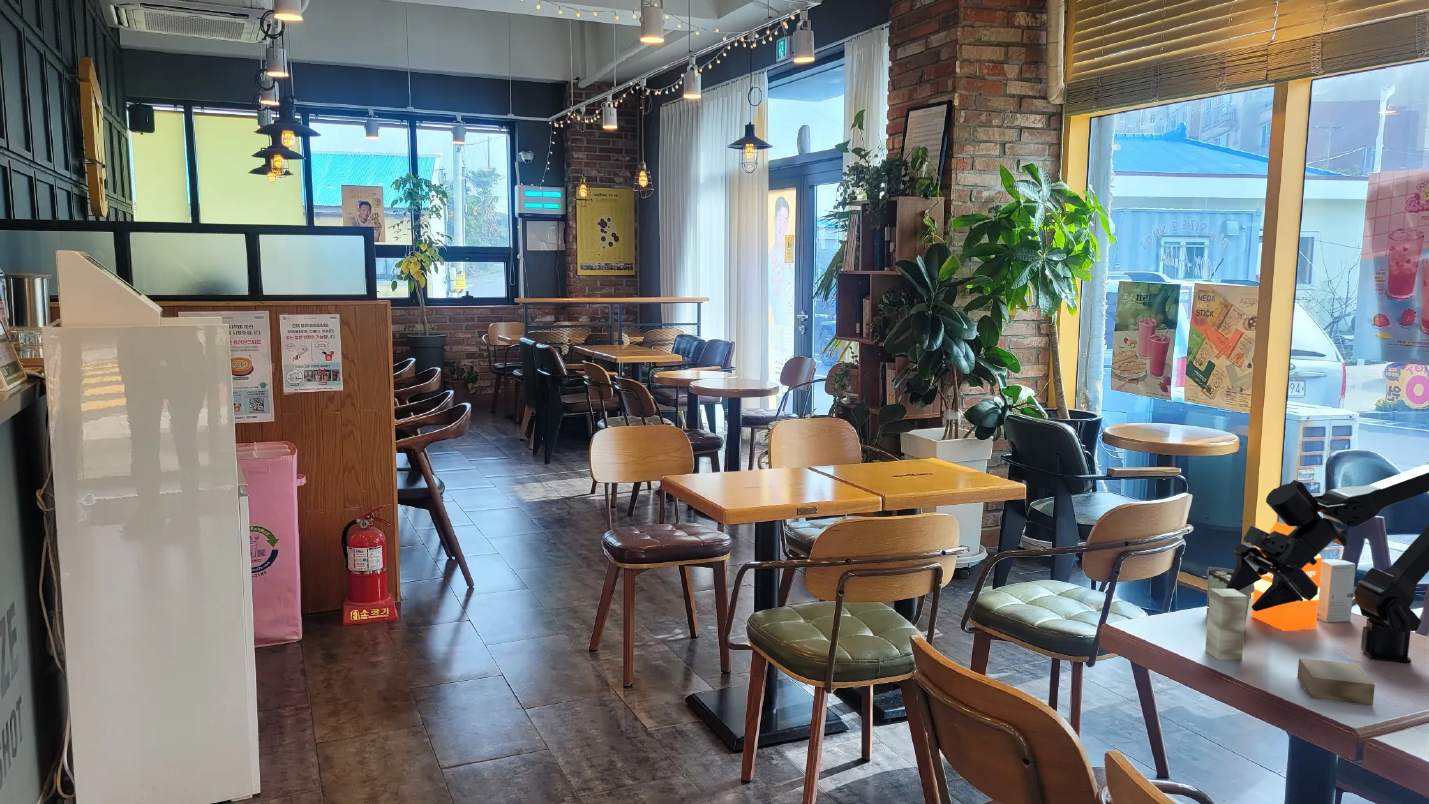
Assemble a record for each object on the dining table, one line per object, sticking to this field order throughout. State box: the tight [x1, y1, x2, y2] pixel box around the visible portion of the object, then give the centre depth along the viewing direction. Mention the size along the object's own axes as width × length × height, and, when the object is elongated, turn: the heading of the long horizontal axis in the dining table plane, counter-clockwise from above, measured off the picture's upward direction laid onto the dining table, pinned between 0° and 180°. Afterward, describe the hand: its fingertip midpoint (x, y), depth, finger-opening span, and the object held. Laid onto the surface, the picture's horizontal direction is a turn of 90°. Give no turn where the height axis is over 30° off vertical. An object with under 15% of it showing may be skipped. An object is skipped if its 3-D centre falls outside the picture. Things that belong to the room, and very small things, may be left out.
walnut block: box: [1296, 657, 1376, 707], centre depth 170 cm, size 9×9×4 cm
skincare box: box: [1316, 558, 1356, 623], centre depth 206 cm, size 6×4×12 cm
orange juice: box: [1251, 521, 1323, 632], centre depth 203 cm, size 8×9×20 cm
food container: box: [1206, 566, 1255, 624], centre depth 203 cm, size 12×6×10 cm, turn 179°
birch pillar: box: [1204, 589, 1247, 661], centre depth 185 cm, size 4×4×12 cm
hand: (1239, 601), depth 185 cm, fingers open, 9 cm apart
